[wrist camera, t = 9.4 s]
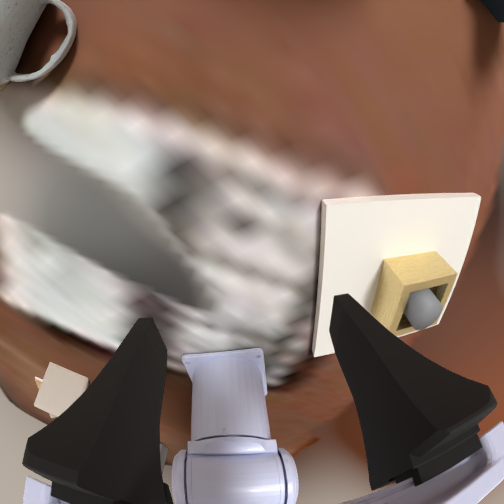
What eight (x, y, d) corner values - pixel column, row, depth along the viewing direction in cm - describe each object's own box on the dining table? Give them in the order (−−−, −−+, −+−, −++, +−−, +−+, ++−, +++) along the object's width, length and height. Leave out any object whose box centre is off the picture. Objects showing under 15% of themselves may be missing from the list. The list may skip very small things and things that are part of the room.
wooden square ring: (419, 300, 23) (436, 324, 21) (370, 311, 23) (385, 339, 20) (435, 250, 20) (457, 273, 17) (383, 258, 20) (404, 285, 17)
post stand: (434, 318, 27) (456, 351, 23) (311, 349, 27) (325, 393, 22) (474, 192, 19) (514, 219, 14) (321, 199, 18) (354, 238, 14)
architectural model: (89, 386, 29) (78, 431, 23) (46, 368, 27) (31, 411, 21) (89, 374, 28) (76, 423, 22) (43, 355, 26) (25, 401, 20)
